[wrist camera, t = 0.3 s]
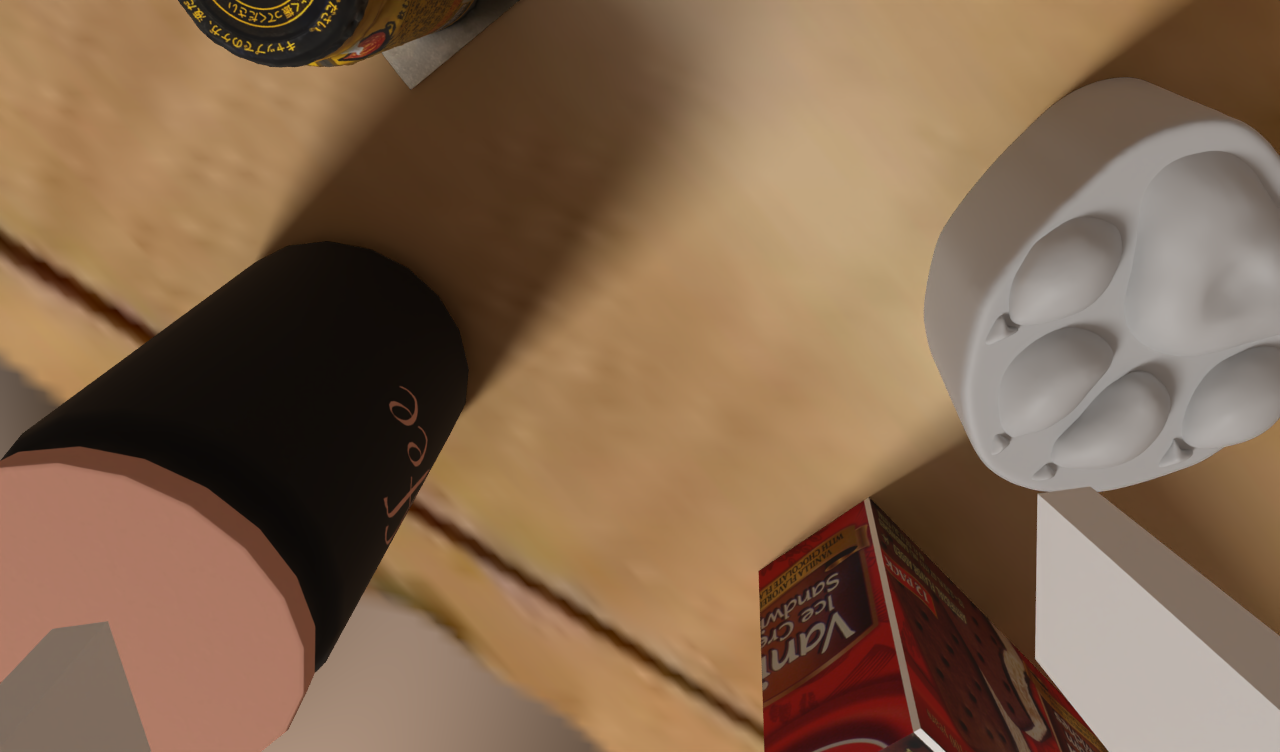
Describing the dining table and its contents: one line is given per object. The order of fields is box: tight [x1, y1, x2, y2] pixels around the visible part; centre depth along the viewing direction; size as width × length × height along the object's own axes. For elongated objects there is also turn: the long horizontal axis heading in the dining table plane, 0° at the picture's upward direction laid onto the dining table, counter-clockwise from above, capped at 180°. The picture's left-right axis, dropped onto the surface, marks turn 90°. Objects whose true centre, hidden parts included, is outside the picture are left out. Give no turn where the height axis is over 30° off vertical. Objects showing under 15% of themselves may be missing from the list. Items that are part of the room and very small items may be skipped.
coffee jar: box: [0, 241, 469, 752], centre depth 33 cm, size 11×11×18 cm
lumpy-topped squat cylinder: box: [924, 77, 1280, 492], centre depth 33 cm, size 10×13×9 cm
